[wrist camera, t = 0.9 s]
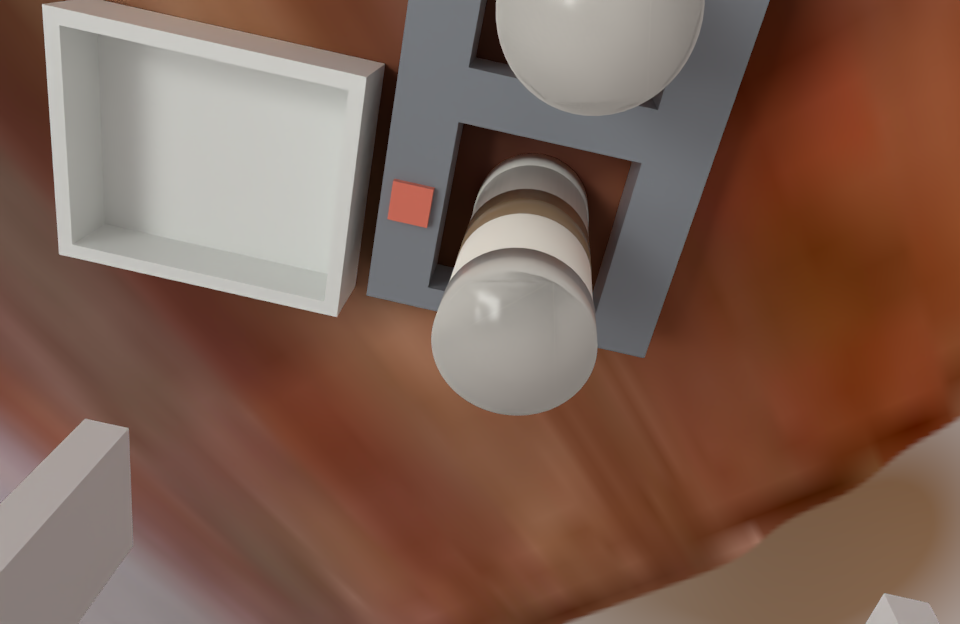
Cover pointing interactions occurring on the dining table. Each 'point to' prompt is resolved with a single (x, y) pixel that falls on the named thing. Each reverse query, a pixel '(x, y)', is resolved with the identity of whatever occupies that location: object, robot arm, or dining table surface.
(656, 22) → the fuse
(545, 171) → the fuse
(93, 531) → the robot arm
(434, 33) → the fuse panel
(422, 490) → the dining table surface
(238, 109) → the parts tray
